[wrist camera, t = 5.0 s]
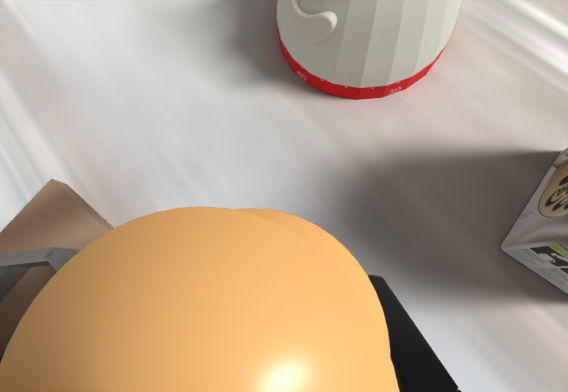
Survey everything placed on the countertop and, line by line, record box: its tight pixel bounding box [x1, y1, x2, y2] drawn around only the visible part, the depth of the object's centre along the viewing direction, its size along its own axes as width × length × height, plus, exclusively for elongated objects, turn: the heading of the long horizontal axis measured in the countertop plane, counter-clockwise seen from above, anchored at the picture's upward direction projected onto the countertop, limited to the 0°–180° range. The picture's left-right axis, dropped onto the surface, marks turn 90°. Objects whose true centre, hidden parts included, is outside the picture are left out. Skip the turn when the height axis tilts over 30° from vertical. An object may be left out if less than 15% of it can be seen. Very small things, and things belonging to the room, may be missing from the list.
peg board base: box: [0, 179, 114, 354], centre depth 20 cm, size 16×14×4 cm
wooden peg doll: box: [0, 207, 399, 392], centre depth 9 cm, size 5×5×13 cm
